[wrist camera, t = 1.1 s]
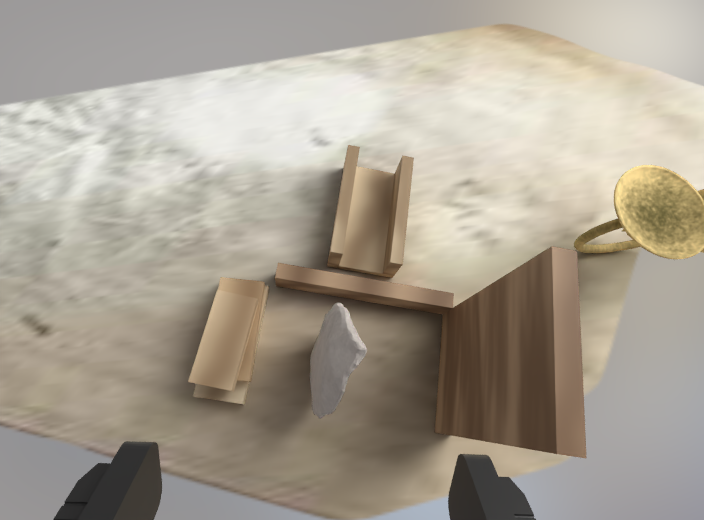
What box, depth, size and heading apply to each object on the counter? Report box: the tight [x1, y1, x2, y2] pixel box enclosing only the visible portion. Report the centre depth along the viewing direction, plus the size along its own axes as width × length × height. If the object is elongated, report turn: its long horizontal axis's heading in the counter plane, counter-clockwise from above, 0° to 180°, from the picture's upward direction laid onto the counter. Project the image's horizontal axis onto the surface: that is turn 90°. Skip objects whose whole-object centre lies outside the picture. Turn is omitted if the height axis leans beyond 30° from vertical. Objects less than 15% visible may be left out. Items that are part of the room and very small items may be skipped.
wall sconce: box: [574, 165, 704, 259], centre depth 38 cm, size 14×10×25 cm
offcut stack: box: [188, 277, 269, 404], centre depth 39 cm, size 5×11×4 cm, turn 172°
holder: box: [327, 145, 414, 278], centre depth 45 cm, size 7×12×4 cm, turn 172°
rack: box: [275, 246, 586, 458], centre depth 33 cm, size 19×13×20 cm
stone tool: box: [310, 303, 367, 418], centre depth 34 cm, size 9×3×15 cm, turn 0°
